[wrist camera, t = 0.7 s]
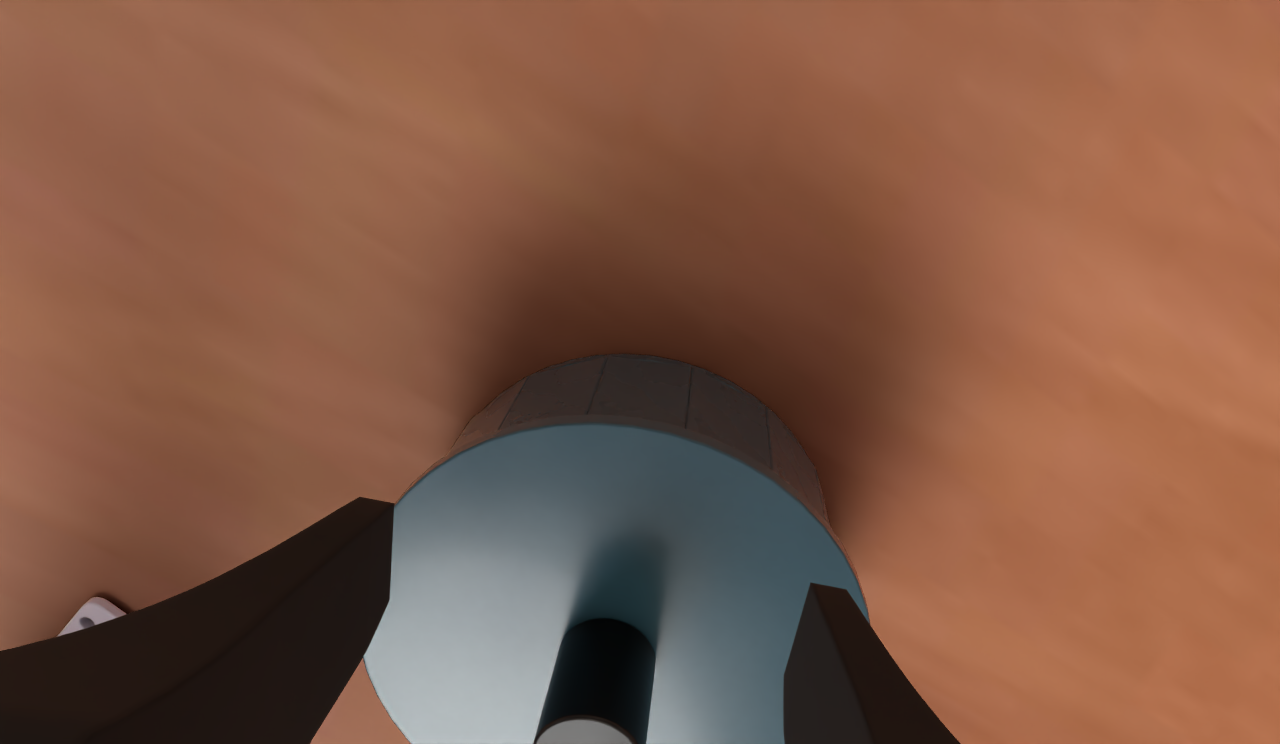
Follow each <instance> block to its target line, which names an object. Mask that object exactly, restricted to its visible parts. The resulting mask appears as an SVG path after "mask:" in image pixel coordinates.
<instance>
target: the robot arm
mask: <svg viewBox="0 0 1280 744" xmlns="http://www.w3.org/2000/svg"><path fill="white" fill-rule="evenodd" d="M393 520H394V503H389V502H384V501H379V500H373V499H368V498H363V497H359V498H357V499H355V500H353V501H352V502H350V503H348V504H346V505H345V506H343V507H341V508H340V509H338V510H336V511H335V512H333V513H331V514H330V515H328V516H326V517H325V518H323V519H321V520H320V521H318V522H316V523H315V524H313V525H311V526H310V527H308V528H306V529H305V530H303V531H301V532H300V533H298V534H296V535H294V536H293V537H291V538H289V539H287V540H286V541H284V542H282V543H281V544H279V545H277V546H275V547H274V548H272V549H270V550H268V551H267V552H265V553H263V554H261V555H259V556H257V557H255V558H253V559H251V560H249V561H247V562H245V563H243V564H242V565H240V566H238V567H236V568H234V569H232V570H230V571H228V572H226V573H224V574H222V575H220V576H218V577H216V578H214V579H212V580H210V581H208V582H206V583H204V584H201V585H199V586H197V587H195V588H193V589H190V590H188V591H186V592H183V593H181V594H178V595H176V596H174V597H171V598H169V599H166V600H164V601H162V602H159V603H157V604H154V605H152V606H149V607H146V608H144V609H141V610H138V611H135V612H132V613H129V614H126V613H125V612H123V611H122V610H120V609H119V608H118V607H116V606H115V605H113V604H112V603H111V602H109V601H108V600H106V599H104V598H100V597H93V598H91V599H89V600H88V601H87V602H86V603H85V604H84V605H83V606H82V607H81V608H80V609H79V610H78V612H77V613H76V614H75V615H74V617H73V618H72V619H71V620H70V621H69V623H68V624H67V625H66V626H65V627H64V629H63V630H62V631H61V632H60V634H59V635H58V636H57V637H54V638H51V639H47V640H43V641H39V642H35V643H31V644H27V645H23V646H20V647H16V648H12V649H7V650H3V651H0V744H310V742H311V740H312V739H313V737H314V736H315V734H316V732H317V731H318V729H319V728H320V726H321V724H322V723H323V721H324V720H325V718H326V716H327V715H328V713H329V712H330V710H331V708H332V707H333V705H334V704H335V702H336V700H337V699H338V697H339V696H340V694H341V692H342V691H343V689H344V687H345V686H346V684H347V683H348V681H349V679H350V678H351V676H352V674H353V673H354V671H355V669H356V668H357V666H358V665H359V663H360V661H361V660H362V658H363V656H364V655H365V653H366V651H367V649H368V647H369V645H370V643H371V641H372V638H373V636H374V634H375V632H376V630H377V628H378V625H379V623H380V621H381V619H382V616H383V614H384V612H385V609H386V607H387V605H388V603H389V600H390V583H391V562H392V541H393ZM783 730H784V741H785V744H960V743H959V741H958V740H957V739H956V738H955V737H954V736H953V735H952V734H951V733H950V731H949V730H948V729H947V728H946V727H945V726H944V724H943V723H942V722H941V721H940V720H939V718H938V717H937V716H936V715H935V714H934V712H933V711H932V710H931V709H930V707H929V706H928V705H927V704H926V702H925V701H924V700H923V699H922V698H921V696H920V695H919V694H918V692H917V691H916V690H915V688H914V687H913V686H912V685H911V683H910V682H909V681H908V679H907V678H906V676H905V675H904V674H903V672H902V671H901V670H900V668H899V667H898V665H897V664H896V663H895V661H894V660H893V658H892V657H891V655H890V654H889V653H888V651H887V650H886V648H885V647H884V645H883V644H882V642H881V641H880V639H879V638H878V636H877V635H876V633H875V632H874V630H873V629H872V627H871V626H870V624H869V623H868V621H867V620H866V618H865V616H864V615H863V613H862V612H861V610H860V609H859V607H858V606H857V604H856V603H855V601H854V600H853V598H852V597H851V595H850V594H849V592H848V591H847V589H842V588H837V587H832V586H826V585H821V584H816V583H810V586H809V590H808V593H807V597H806V600H805V604H804V607H803V610H802V614H801V617H800V621H799V624H798V628H797V631H796V635H795V638H794V642H793V645H792V649H791V652H790V655H789V659H788V662H787V666H786V669H785V673H784V685H783Z"/></svg>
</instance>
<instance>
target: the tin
mask: <svg viewBox="0 0 1280 744" xmlns="http://www.w3.org/2000/svg"><path fill="white" fill-rule="evenodd" d="M590 414H602V415H615V416H629V417H637V418H643V419H648V420H653V421H658V422H663V423H668V424H673V425H676V426H679V427H682V428H685V429H688V430H691V431H694V432H698V433H701V434H704V435H707V436H709V437H711V438H713V439H716V440H718V441H720V442H722V443H724V444H727V445H729V446H731V447H733V448H735V449H738V450H740V451H742V452H743V453H745V454H746V455H748V456H750V457H751V458H753V459H755V460H756V461H758V462H759V463H761V464H763V465H764V466H766V467H768V468H769V469H771V470H772V471H774V472H775V473H776V474H777V475H779V476H780V477H781V478H782V479H783V480H785V481H786V482H787V483H788V484H790V485H791V486H792V487H793V488H795V489H796V490H797V491H798V492H800V493H801V495H802V496H803V497H804V498H805V499H806V500H807V501H808V502H809V503H810V504H811V505H812V506H813V507H814V508H815V509H816V510H817V511H818V512H819V513H820V514H821V516H822V517H823V518H824V519H825V521H826V522H827V523H828V525H829V526H830V528H831V525H830V521H829V517H828V514H827V510H826V506H825V502H824V496H823V493H822V490H821V486H820V482H819V478H818V474H817V470H816V469H815V467H814V464H813V463H812V462H811V461H810V460H809V458H808V456H807V454H806V452H805V450H804V449H803V448H802V446H801V445H800V443H799V442H798V441H797V439H796V438H795V436H794V435H793V433H792V432H791V431H790V430H789V428H788V427H787V426H786V425H785V424H784V423H783V422H782V421H781V420H780V419H779V418H778V417H777V416H776V415H775V413H774V412H773V411H771V410H770V409H769V408H768V407H766V406H765V405H764V404H763V403H762V402H760V401H759V400H758V399H757V398H756V397H754V396H753V395H752V394H750V393H748V392H747V391H745V390H744V389H742V388H740V387H739V386H737V385H736V384H734V383H732V382H731V381H729V380H727V379H725V378H723V377H720V376H718V375H716V374H714V373H712V372H710V371H708V370H705V369H702V368H699V367H696V366H693V365H690V364H687V363H684V362H681V361H677V360H672V359H666V358H661V357H656V356H650V355H635V354H610V355H595V356H590V357H584V358H579V359H573V360H569V361H566V362H563V363H560V364H556V365H553V366H550V367H547V368H544V369H542V370H540V371H538V372H536V373H534V374H532V375H530V376H527V377H525V378H523V379H522V380H520V381H519V382H517V383H516V384H514V385H513V386H511V387H510V388H508V389H506V390H505V391H503V392H502V393H501V394H500V395H499V396H497V397H496V398H495V399H494V400H493V401H492V402H491V403H490V404H488V405H487V406H486V407H485V408H484V409H483V410H482V411H481V412H480V413H478V414H477V415H476V416H474V417H473V418H472V419H471V420H470V421H469V422H468V424H467V425H466V427H465V428H464V430H463V432H462V433H461V435H460V436H459V438H458V439H457V441H456V442H455V444H454V445H453V447H452V448H451V450H450V451H449V453H448V454H450V453H451V452H453V451H454V450H456V449H457V448H459V447H461V446H462V445H465V444H467V443H469V442H471V441H473V440H475V439H478V438H480V437H482V436H484V435H486V434H489V433H491V432H493V431H497V430H500V429H503V428H507V427H510V426H513V425H516V424H520V423H523V422H527V421H533V420H539V419H545V418H551V417H557V416H568V415H590ZM448 454H447V455H448Z"/></svg>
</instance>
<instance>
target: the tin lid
mask: <svg viewBox="0 0 1280 744" xmlns="http://www.w3.org/2000/svg"><path fill="white" fill-rule="evenodd" d="M810 583H816V584H821V585H826V586H832V587H837V588H842V589H847V591H848V592H849V594H850V595H851V597H852V598H853V600H854V601H855V603H856V604H857V606H858V607H859V609H860V610H861V612H862V613H863V615H864V616H865V618H866V620H867V621H868V623H869V624H870V620H869V614H868V608H867V604H866V600H865V597H864V594H863V591H862V588H861V585H860V582H859V579H858V576H857V572H856V570H855V568H854V566H853V564H852V562H851V560H850V558H849V556H848V554H847V553H846V551H845V549H844V547H843V545H842V543H841V542H840V540H839V539H838V537H837V536H836V535H835V533H834V532H833V530H832V529H831V528H830V526H829V525H828V523H827V522H826V521H825V519H824V518H823V517H822V516H821V514H820V513H819V512H818V511H817V510H816V509H815V508H814V507H813V506H812V505H811V504H810V503H809V502H808V501H807V500H806V499H805V498H804V497H803V496H802V495H801V493H800V492H798V491H797V490H796V489H795V488H793V487H792V486H791V485H790V484H788V483H787V482H786V481H785V480H783V479H782V478H781V477H780V476H779V475H777V474H776V473H775V472H774V471H772V470H771V469H769V468H768V467H766V466H764V465H763V464H761V463H759V462H758V461H756V460H755V459H753V458H751V457H750V456H748V455H746V454H745V453H743V452H742V451H740V450H738V449H735V448H733V447H731V446H729V445H727V444H724V443H722V442H720V441H718V440H716V439H713V438H711V437H709V436H707V435H704V434H701V433H698V432H694V431H691V430H688V429H685V428H682V427H679V426H676V425H673V424H668V423H663V422H658V421H653V420H648V419H643V418H637V417H629V416H615V415H602V414H590V415H568V416H557V417H551V418H545V419H539V420H533V421H527V422H523V423H520V424H516V425H513V426H510V427H507V428H503V429H500V430H497V431H493V432H491V433H489V434H486V435H484V436H482V437H480V438H478V439H475V440H473V441H471V442H469V443H467V444H465V445H462V446H461V447H459V448H457V449H456V450H454V451H453V452H451V453H450V454H448V455H447V456H445V457H443V458H442V459H440V460H439V461H437V462H436V463H434V464H433V465H432V466H431V467H430V468H429V469H427V470H426V471H425V472H424V473H423V474H422V475H421V476H419V477H418V478H417V479H416V480H415V481H414V482H413V483H412V484H411V485H410V486H409V487H408V488H407V490H406V491H405V492H404V493H403V494H402V496H401V497H400V498H399V499H398V500H397V501H396V503H395V504H394V520H393V541H392V562H391V583H390V600H389V603H388V605H387V607H386V609H385V612H384V614H383V616H382V619H381V621H380V623H379V625H378V628H377V630H376V632H375V634H374V636H373V638H372V641H371V643H370V645H369V647H368V649H367V651H366V653H365V655H364V656H363V659H364V663H365V667H366V670H367V673H368V675H369V677H370V680H371V682H372V684H373V687H374V689H375V691H376V694H377V696H378V697H379V699H380V701H381V702H382V704H383V706H384V707H385V709H386V711H387V713H388V714H389V716H390V718H391V719H392V721H393V722H394V723H395V724H396V726H397V727H398V728H399V729H400V731H401V732H402V733H403V735H404V736H405V737H406V738H407V740H408V741H409V742H410V743H411V744H785V741H784V730H783V685H784V673H785V669H786V666H787V662H788V659H789V655H790V652H791V649H792V645H793V642H794V638H795V635H796V631H797V628H798V624H799V621H800V617H801V614H802V610H803V607H804V604H805V600H806V597H807V593H808V590H809V586H810Z"/></svg>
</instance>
